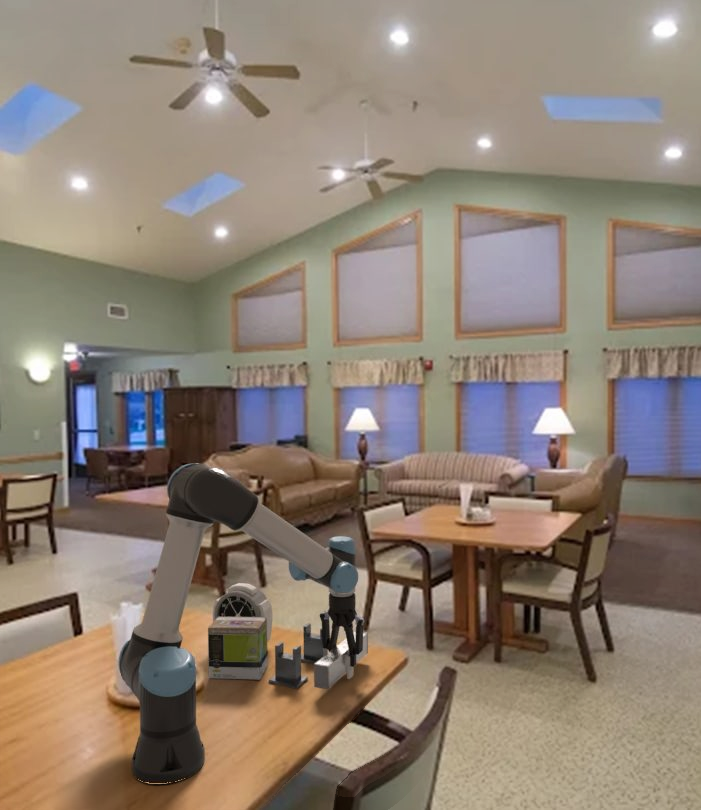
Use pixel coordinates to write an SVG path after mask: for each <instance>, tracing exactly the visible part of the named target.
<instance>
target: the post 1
mask: <svg viewBox="0 0 701 810" xmlns="http://www.w3.org/2000/svg"><path fill="white" fill-rule="evenodd" d="M284 650H285V649H284V641H280V642H278V643H277V644H275V645H274V661H275V662H274V665H275V666H274V668H275V669H274V672H275V674H274V675H273V676H271V677H270V678H269V679H268V683H269V684H274V685H278V686H283V687H287V688H291V689H297V690H298V688H300V687H301V686H302V685H304V683H306V682H307V681H308V680H309V677H308V676H305V675H302V661H301V655H302V645H301V644H300V645H299V644H297V645H296V646H294V647H293V648H292V654H291V653H287V652H284Z"/></svg>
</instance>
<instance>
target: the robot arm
mask: <svg viewBox="0 0 701 810" xmlns="http://www.w3.org/2000/svg"><path fill="white" fill-rule="evenodd" d="M166 494H167V496H168V503H167V507H166V511H165V516H166V517H167V519H168V522H169V524H168V527H167V531H166V536H165V539H164V542H163V546H162V550H161V554H160V556H159V561H158V564H157V567H156V570H155V575H154V578H153V582H152V585H151V589H150V593H149V596H148V601H147V604H146V608H145V611H144V615H143V618H142V621H141V623H140V624H138V625H136V626H135V627H133V629H132V632H131V636H130V639H129V640H127V641H126V642H125V643H124V645H123V647H122V648H121V650H120V652H119V656H118V661H117V662H118V664H117V665H118V669H119V673H120V676H121V678H122V680H123V682H124V683H125V685H126V686H127V687H128V688H129V689H130V691H132V693H133V695H134V696H135V698H136V699H137V700H138V703H139V735H138V738H137V741H136V745H135V747H134V748H135V749H134V752H133V755H132V758H131V774H132V773H133V774H132V776H133V775H134V776H135V777H136V778H137V779H139V780H141V781H143V782H149V783H167V782H168V783H169V782H175V781H178V780H181V779H184V778H187V777H189V776H190V777H192V776H194V775H195V774H196V773H198V772H199V771H200V770H201V769H202V767H203V765H204V764H205V759H206V757H205V756H206V755H205V754H206V753H205V752H206V751H205V749H206V748H205V745H204V743H203V741H202V740H201V736H200V732H199V728H198V725H197V667H196V661H195V657H194V655H193V654H192V653H191V652H190V651H189V650H187V649H185V648H183V647H181V646H182V642H183V639H184V636H183V635H182V633H181V632H180V630H179V628H180V625H181V620H182V616H183V615H184V614H183V613H184V610H185V606H186V602H187V599H188V596H189V591H190V587H191V583H192V580H193V577H194V572H195V570H196V569H195V568H196V567H197V561H198V558H199V554H200V551H201V546H202V542H203V539H204V535H205V532H206V530H207V529H208V528H211V527H212V526H213V525H214V523H215V522H218V523H219V524H222V525H223V526H225V527H227V528H229V529H230V530H232V531H235V532H236V531H237V532H238V531H242V532H243V533H245V534H246V535H248V536H249V537H251V538H252V539H254V540H255V541H257V542H259V543H260V544H261V545H263V546H264V547H267V548H268V549H269V550H271V551H272V552H274V553H275V554H277V555H278V556H279V557H281V558H282V559H285V560H286V561H288V572H289V574H290V576H291V578H292V579H293V580H294V581H303V582H305V581H307V580H311V581H313V582H316V583H317V584H320V585H322V586H324V587H326V588H328V592H329V594H328V606H329V608H328V610H325V611H323V612H321V613H320V614H319V618H320V621H321V628H322V643H323V648H324V649H325V648H326V649H328V653H329V652H330V651H331V650H332V649H334V648H335V647H336V646H337V645H338V644H337V643H338V637H339V631H340V627H342V628H343V631H344V632H345V637H346V638H347V644H348V649H349V654H348V655H347V673H346V676H347V677H346V679H347V680H350V679H352V678H353V677H354V667H355V666H356V664H357V663H356V654H357V655H358V654H359V653H361V652H362V651H363V632H364V625H365V622H366V617H364V616H362V617H361V616H359V615H358V614H357V611H356V603H357V602H356V593H355V592H356V586H357V585H358V581H359V571H358V570H357V568H356V555H357V553H356V545H355V543H356V542H355V540H354V539H353V538H352V537H349V536H339V535H338V536H333V537H330V538H329V539H328V542H327V543H328V544H327V546H326V547H324V546H322V545H321V544H320V543H318V542H317V541H315V540H313V538H311V537H309V536H308V535H307V534H305V533H304V532H302V531H301V530H300V529H298V528H297V527H295V526H293V525H292V524H291V523H289V522H288V521H286V520H285V519H284V518H283V517H281V516H279V515H278V514H276V513H275V512H274V511H272V510H271V509H269V508H268V507H267V506H265V505H263V504H262V503H261V502H260V497H259V496H258V495H257V494H256V493H254V492H253V491H252V490H250V489H249V488H248V487H246V486H245V485H244V484H243V483H241V482H240V481H239V480H238V479H236V478H235V477H234V476H233V475H232V474H231V473H229V472H227V471H226V470H224V469H222V468H218V467H216V466H215V467H214V466H210V465H207V464H204V463H197V462H196V463H187V464H184V465H181V466H179V467H178V468H177V469H176V470H175V471H173V473H172V474H171V475H170V477H169V479H168V481H167V486H166ZM330 619H331V621H332V623H331V626H330ZM354 620H355V625H356V626H355V631H356V642H355V638H354V633H353V632H354V624H353V622H354ZM330 627H331V629H330ZM330 630H331V631H330ZM346 638H345V639H346ZM199 769H200V770H199ZM198 770H199V771H198ZM197 771H198V772H197ZM195 772H196V773H195ZM194 773H195V774H194ZM193 774H194V775H193ZM191 775H192V776H191ZM134 776H133V777H134ZM135 777H134V778H135ZM190 777H189V778H190ZM136 778H135V779H136ZM137 779H136V780H137ZM187 779H188V778H187ZM184 780H185V779H184Z"/></svg>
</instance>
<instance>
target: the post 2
mask: <svg viewBox="0 0 701 810" xmlns="http://www.w3.org/2000/svg"><path fill="white" fill-rule="evenodd" d="M319 630H320V632H319V634H318V633H317V634H316V633H312V623H306V624H305V625H304V626H303V654H302V653H301V663H302V662H303V663H307V664H308V663H309V664H313V665H314V664H315V663H316V662H318V661H319V660H320V659H321V658H323V657H324V656H325V655H326V654H327V653H329V650H328V649H326V648H325V649H324V648H323V643H322V627H321V628H320V629H319Z"/></svg>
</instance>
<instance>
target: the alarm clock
mask: <svg viewBox="0 0 701 810" xmlns="http://www.w3.org/2000/svg"><path fill="white" fill-rule="evenodd" d="M218 617H267V643H269V642H270V640H271V637H272V628H273V608H272V604H271V601H270V599H269V598H267V596H266V594H265V593H264V592H263V591H262V590H261V589H260V588H258V587H256V586H254V585H253V584H251V583H245V582H238V583H236V584H235V583H234V584H233V585H231V586H229V587H227V593H225V594H224V595H221V596H220V597H219V598H217V599H216V600H215V602H214V605H213V608H212V623H213V622H214V621H215V620H216V619H217V618H218Z"/></svg>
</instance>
